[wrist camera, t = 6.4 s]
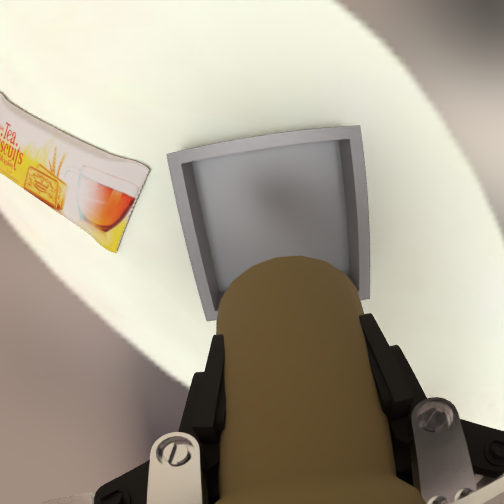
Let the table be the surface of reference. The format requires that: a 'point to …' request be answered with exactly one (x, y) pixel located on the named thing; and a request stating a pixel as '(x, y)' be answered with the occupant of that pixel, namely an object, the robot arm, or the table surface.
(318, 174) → the tote
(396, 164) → the table surface
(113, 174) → the food package
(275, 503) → the cork
